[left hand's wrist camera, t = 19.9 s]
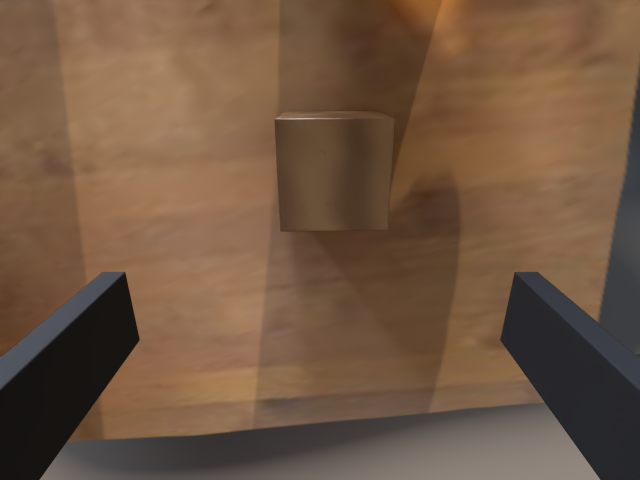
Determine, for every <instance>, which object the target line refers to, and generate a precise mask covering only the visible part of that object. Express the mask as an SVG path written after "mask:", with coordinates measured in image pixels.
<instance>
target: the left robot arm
mask: <svg viewBox="0 0 640 480" xmlns="http://www.w3.org/2000/svg"><path fill="white" fill-rule="evenodd" d="M139 340H140V339H139V335H138V330H137V325H136V321H135V316H134V311H133V307H132V302H131V297H130V292H129V288H128V283H127V278H126V274H125V272H102V273H101V274H100V275H98V276H97V277H96V278H95V279H94V280H92V281H91V282H90V283H89V284H88V285H86V286H85V287H84V288H83V289H82V290H81V291H79V292H78V293H77V294H76V295H75V296H73V297H72V298H71V299H70V300H69V301H67V302H66V303H65V304H64V305H63V306H62V307H60V308H59V309H58V310H57V311H56V312H54V313H53V314H52V315H51V316H50V317H48V318H47V319H46V320H45V321H44V322H43V323H41V324H40V325H39V326H38V327H37V328H35V329H34V330H33V331H32V332H31V333H29V334H28V335H27V336H26V337H25V338H24V339H22V340H21V341H20V342H19V343H18V344H16V345H15V346H14V347H13V348H12V349H10V350H9V351H8V352H7V353H6V354H5V355H3V356H0V480H39V479H40V478H41V477H42V475H43V474H44V473H45V471H46V470H47V468H48V467H49V466H50V464H51V463H52V461H53V460H54V459H55V457H56V456H57V454H58V453H59V452H60V450H61V449H62V447H63V446H64V445H65V443H66V442H67V441H68V439H69V438H70V436H71V435H72V434H73V432H74V431H75V429H76V428H77V427H78V425H79V424H80V422H81V421H82V420H83V418H84V417H85V415H86V414H87V413H88V411H89V410H90V408H91V407H92V406H93V404H94V403H95V402H96V400H97V399H98V397H99V396H100V395H101V393H102V392H103V390H104V389H105V388H106V386H107V385H108V383H109V382H110V381H111V379H112V378H113V376H114V375H115V374H116V372H117V371H118V369H119V368H120V367H121V365H122V364H123V363H124V361H125V360H126V358H127V357H128V356H129V354H130V353H131V351H132V350H133V349H134V347H135V346H136V344H137V343H138V342H139ZM500 340H501V342H502V343H503V344H504V346H505V347H506V349H507V350H508V351H509V353H510V354H511V356H512V357H513V358H514V360H515V361H516V363H517V364H518V365H519V367H520V368H521V369H522V371H523V372H524V374H525V375H526V376H527V378H528V379H529V381H530V382H531V383H532V385H533V386H534V388H535V389H536V390H537V392H538V393H539V395H540V396H541V397H542V399H543V400H544V402H545V403H546V404H547V406H548V407H549V408H550V410H551V411H552V413H553V414H554V415H555V417H556V418H557V420H558V421H559V422H560V424H561V425H562V427H563V428H564V429H565V431H566V432H567V434H568V435H569V436H570V438H571V439H572V440H573V442H574V443H575V445H576V446H577V447H578V449H579V450H580V452H581V453H582V454H583V456H584V457H585V459H586V460H587V461H588V463H589V464H590V466H591V467H592V468H593V470H594V471H595V473H596V474H597V475H598V477H599V478H600V480H640V354H634V353H633V352H632V351H631V350H630V349H628V348H627V347H626V346H625V345H624V344H622V343H621V342H620V341H619V340H618V339H616V338H615V337H614V336H613V335H612V334H610V333H609V332H608V331H607V330H606V329H605V328H603V327H602V326H601V325H600V324H599V323H597V322H596V321H595V320H594V319H593V318H592V317H590V316H589V315H588V314H587V313H586V312H584V311H583V310H582V309H581V308H580V307H578V306H577V305H576V304H575V303H574V302H573V301H571V300H570V299H569V298H568V297H567V296H565V295H564V294H563V293H562V292H561V291H559V290H558V289H557V288H556V287H555V286H554V285H552V284H551V283H550V282H549V281H548V280H546V279H545V278H544V277H543V276H542V275H540V274H539V273H538V272H515V274H514V278H513V283H512V288H511V292H510V297H509V302H508V307H507V311H506V316H505V321H504V325H503V330H502V335H501V339H500Z"/></svg>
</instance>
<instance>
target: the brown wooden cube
mask: <svg viewBox="0 0 640 480" xmlns="http://www.w3.org/2000/svg"><path fill="white" fill-rule="evenodd" d="M394 126H395V118H394V117H392V116H389V115H386V114H384V113H381V112H379V111H300V112H284V113H282V114H281V115H280V116H278V117H277V118H276V119H275V135H276V155H277V174H278V194H279V213H280V231H363V230H388V222H389V206H390V190H391V174H392V158H393V142H394Z"/></svg>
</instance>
